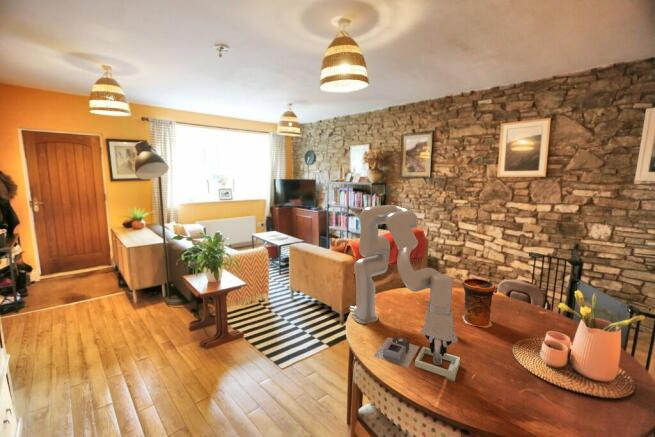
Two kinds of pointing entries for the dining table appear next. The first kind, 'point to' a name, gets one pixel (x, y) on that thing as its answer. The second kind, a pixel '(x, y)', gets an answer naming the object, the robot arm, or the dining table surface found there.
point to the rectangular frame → (448, 374)
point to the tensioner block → (397, 351)
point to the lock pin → (437, 351)
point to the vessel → (478, 302)
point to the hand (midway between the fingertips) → (437, 352)
